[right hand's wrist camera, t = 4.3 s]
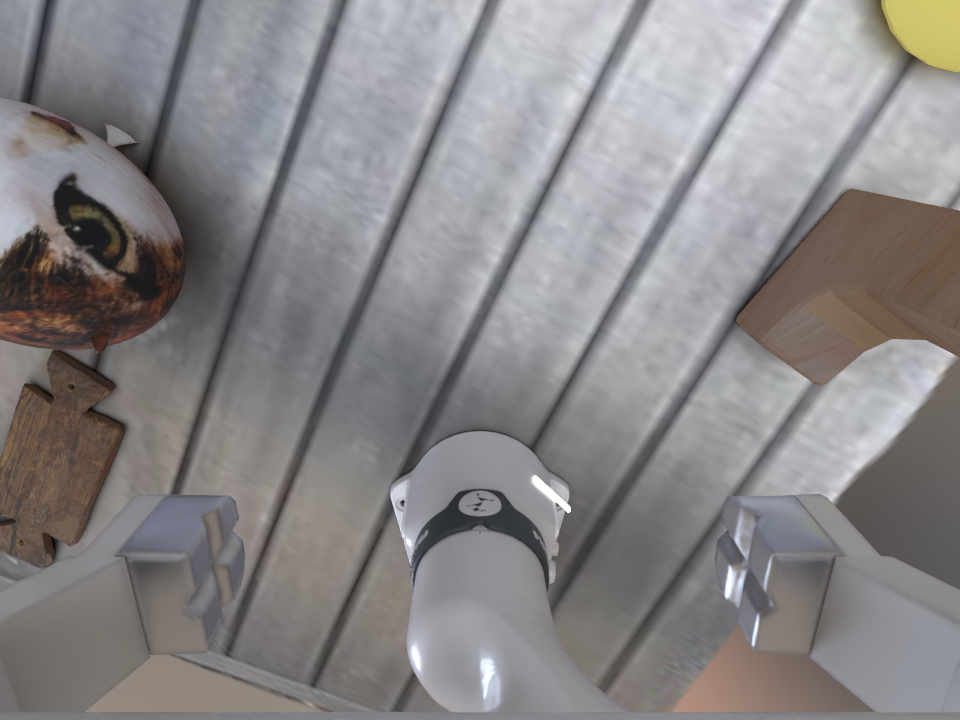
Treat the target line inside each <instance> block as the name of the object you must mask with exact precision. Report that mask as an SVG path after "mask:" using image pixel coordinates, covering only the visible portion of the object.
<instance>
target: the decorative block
mask: <svg viewBox="0 0 960 720" xmlns="http://www.w3.org/2000/svg"><path fill="white" fill-rule="evenodd" d="M736 322H737V324H738V326H739V327H740V328H742V329H743V330H744V331H745V332H746V333H748V334H749V335H750V336H751V337H752V338H754V339H755V340H756V341H757V342H758V343H760V344H761V345H762V346H763V347H765V348H766V349H767V350H769V351H770V352H772V353H773V354H774V355H776V356H777V357H778V358H780V359H781V360H783V361H784V362H785V363H787V364H788V365H789V366H791V367H792V368H794V369H795V370H796V371H798V372H799V373H800V374H802V375H803V376H805V377H806V378H807V379H809V380H810V381H811V382H813V383H814V384H818V385H824V384H826V383H828V382H829V381H830V380H831V379H832V378H834V377H835V376H836V375H837V374H838V373H840V372H841V371H842V370H843V369H844V368H845V367H847V366H848V365H849V364H850V363H851V362H853V361H854V360H855V359H856V358H857V357H859V356H860V355H861V354H862V353H863V352H865V351H867V350H869V349H871V348H873V347H875V346H878V345H880V344H882V343H884V342H886V341H888V340H890V339H912V340H927V341H929V342H931V343H933V344H935V345H937V346H939V347H941V348H943V349H945V350H947V351H949V352H951V353H953V354H955V355H957V356H959V357H960V211H958V210H953V209H949V208H944V207H939V206H934V205H929V204H924V203H919V202H915V201H910V200H905V199H900V198H895V197H890V196H885V195H880V194H875V193H871V192H866V191H861V190H856V189H851V190H849V191H847V192H846V193H845V194H844V195H843V196H842V197H841V198H840V200H839V201H838V202H837V203H836V204H835V205H834V206H833V208H832V209H831V210H830V211H829V212H828V213H827V214H826V216H825V217H824V218H823V219H822V220H821V221H820V222H819V224H818V225H817V226H816V227H815V228H814V229H813V230H812V232H811V233H810V234H809V235H808V236H807V237H806V238H805V239H804V241H803V242H802V243H801V244H800V245H799V246H798V247H797V249H796V250H795V251H794V252H793V253H792V254H791V255H790V257H789V258H788V259H787V260H786V261H785V262H784V263H783V265H782V266H781V267H780V268H779V269H778V270H777V271H776V273H775V274H774V275H773V276H772V277H771V278H770V279H769V281H768V282H767V283H766V284H765V285H764V286H763V287H762V289H761V290H760V291H759V292H758V293H757V294H756V295H755V297H754V298H753V299H752V300H751V301H750V302H749V303H748V305H747V306H746V307H745V308H744V309H743V310H742V311H741V312H740V314H739V315H738V316H737V318H736Z"/></svg>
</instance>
